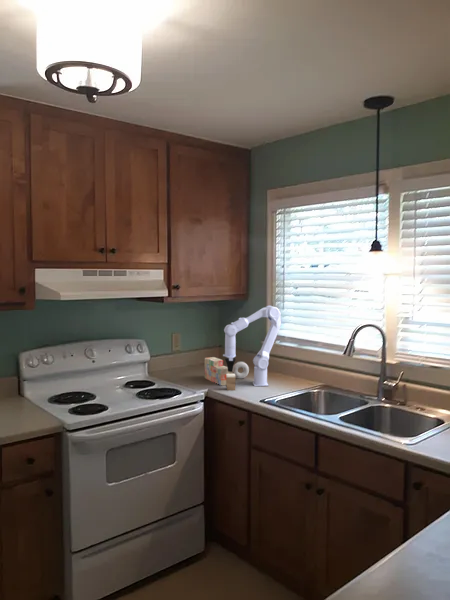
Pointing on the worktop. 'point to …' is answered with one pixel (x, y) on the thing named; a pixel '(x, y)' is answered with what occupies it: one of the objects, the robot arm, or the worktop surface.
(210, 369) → the stack of blocks
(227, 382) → the walnut block
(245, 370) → the donut
